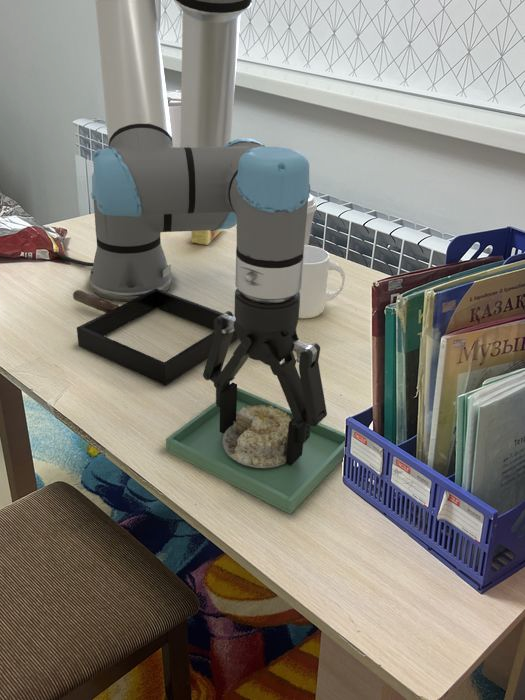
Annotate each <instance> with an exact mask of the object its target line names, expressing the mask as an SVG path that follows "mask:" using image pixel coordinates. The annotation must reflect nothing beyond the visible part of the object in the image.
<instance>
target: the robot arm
mask: <svg viewBox="0 0 525 700" xmlns="http://www.w3.org/2000/svg"><path fill="white" fill-rule="evenodd" d="M94 1H95V11H96V22H97V23H96V24H97V33H98V44H99V55H100V66H101V67H100V69H101V75H102V76H101V78H102V87H103V89H102V90H103V100H104V110H105V113H104V114H105V122H106V133H107V136H106V137H107V147H106V148H98V149H96V150H95V151H93V153H92V162H93V163H92V164H93V173H92V175H91V191H92V192H91V199H92V201H93V212H94V213H93V214H94V225H95V236H96V237H95V239H96V250H95V254H94V259H93V262H87V261H82V260H79V259H75V258H72V257H69V256H67V255H65V254H63V253H60V252H58V251H57V252H55V253H54V252H52V253H53V254H54V255H55V256H57V257H58V258H60V259H61V260H65V261H67V262H70V263H73V264H77V265H80V266H85V267H92V268H91V270H90V274H89V285H90V288H91V291H92V292H94V294H96V295H98V296H100V297H101V298H105V299H108V300H113V301H121V302H129V301H131V300H133V299H135V298H137V297H139V296H141V295H143V294H145V293H147V292H149V291H151V290H153V289H155V288H156V289H159V290H162V291H165V292H167V291H169V289H170V288H171V287H172V283H173V282H172V281H173V280H172V279H173V278H172V276H173V275H172V267H171V266H172V265H171V264H169V265H168V262H167V258H166V255H165V253H164V250H163V248H162V241H161V239H162V238H161V233H175V232H176V233H177V232H191V231H203V230H210V231H217V230H220V229H221V230H230V229H232V228H235V226H236V250H235V282H234V283H235V287H236V289H235V291H234V313H233V312H231V311H229V310H227V311H225V312H223V313H224V314H222V315H220V316H219V317H217V318H216V319H214V330H213V332H214V333H215V334H214V338H213V341H212V344H211V348H210V351H209V355H208V358H207V359H206V361H205V366H204V369H203V371H202V377H203V379H204V380H205V381H211V382H212V383H213V386H214V388H215V402H216V405H217V407H219V408H220V432H221V433H223V434H224V433H225V431H226V430H227V429H228V428H229V427H230V426H232V425H233V424H234V422H233V421H235V422H236V411H237V388H238V384H237V383H235V382H232V381H233V380H235V379H236V376H237V374H238V373H239V372H240V371H241V369H242V368H243V366H244V365H245V363H246V362H247V360H248V359H251V360H254V361H260V362H262V363H263V364H264V365H266V366H269V368H270V371H271V373H272V375H274V376H276V377H277V380H278V382H279V385H280V388H281V389H282V392H283V396H284V397H285V399H286V402H287V405H288V407H289V410H291V412H292V414H293V417H294V418H293V419H292V420H291V421H290V422H289V428H288V442H287V455H286V464H288V465H290V466H291V465H292V464H293V463H294V462H295V461H296V460H297V459H298V458H299V457H300V456H301V455H302V451H303V444H304V443H305V442H306V441H307V440H308V438H309V437H310V428H311V426H316V425H317V424H318V423H321V422H322V421H323V420H324V419H325V418H326V417H327V415H328V411H327V404H326V399H325V393H324V388H323V381H322V376H321V369H320V364H319V359H320V354H321V346H320V344H318V343H317V342H313V343H312V344H310V345H309V344H308V343H305V342H303V341H301V340H300V338H299V336H298V332H297V326H298V322H299V319H300V318H299V307H300V293H299V291H300V289H301V283H302V269H303V252H304V242H305V230H306V218H307V207H308V198H309V193H310V194H311V184H310V162H309V159H308V158H307V156H305V154H303V153H301V152H299V151H294V149H291V148H286V147H280V146H266V145H265V144H263V143H261V142H260V141H258V140H256V139H253V138H247V137H243V138H242V137H240V138H236V139H233V140H232V128H233V115H234V103H235V102H234V101H235V89H236V75H237V61H238V49H239V36H240V35H239V34H240V25H241V23H240V22H241V15H242V14H243V13H245V12H246V11H248V9H250V8H251V7H252V2H253V1H252V0H173V1H174V2H175V4H177V6H178V7H179V8H180V9H181V11H182V29H181V31H182V33H181V36H182V37H181V86H180V88H181V90H180V91H181V93H180V94H181V95H180V138H179V139H180V142H179V145H180V147H174V144H173V134H172V126H171V125H172V124H171V118H170V110H169V101H168V94H167V86H166V77H165V69H164V61H163V55H162V46H161V37H160V29H159V21H158V15H157V6H156V0H94ZM234 330H235V332H236V334H237V336H238V340H239V342H240V343H239V344H238V346H236V348H235V350H234V351H233V353H232V355H231V358H230V359H229V360H228V362H227V363H226V364H225V360H226V357H227V354H228V351H229V348H230V346H231V345H230V344H231V343H230V342H231V339H232V335H233V331H234ZM294 353H295V354H294ZM295 355H296V356H295ZM281 362H282V363H281ZM297 363H298V369H297V366H296V365H297ZM224 364H225V366H224Z"/></svg>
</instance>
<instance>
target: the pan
mask: <svg viewBox="0 0 525 700" xmlns="http://www.w3.org/2000/svg"><path fill="white" fill-rule="evenodd" d="M72 298H73V300H74V301H76V302H78V303H81V304H83V305H85V306H88V307H90V308H92V309H95V310H97V311H100V312H102V313H103V314H100V315H99V316H97V317H95V318H93V319H91V320H89V321H87V322H85V323H83V324H81V325H78V326H77V327H76V335H77V344H78V347H79V348H81V349H83V350H85V351H87V352H89V353H92V354H94V355H96V356H98V357H101V358H102V359H103V358H104V359H105V360H107V361H110V362H112V363H114V364H117V365H119V366H121V367H123V368H125V369H128V370H130V371H132V372H134V373H136V374H137V375H140V376H143V377H145V378H147V379H149V380H151V381H154V382H156V383H158V384H160V385H162V386H168V385H169V384H171V383H172V382H173V381H175V380H177V379H178V378H180V377H181V376H183V375H184V374H186V373H187V372H189V371H190V370H192V369H194V368H195V367H197V366H198V365H200V364H201V363H202V362H204V361H205V360H206V361H207V358H208V355H209V351H210V348H211V344H212V341H213V338H214V334H215V333H214V319H216V318H217V317H219V316H220V315H222V314H224V313H225V312H221V311H219V310H216V309H214V308H210V307H208V306H205V305H202V304H200V303H197V302H194V301H192V300H189V299H187V298H183V297H181V296H178V295H176V294H172V293H170V292H167V291H166V292H165V291H162V290H159V289H156V288H155V289H153V290H151V291H149V292H147V293H145V294H143V295H141V296H139V297H137V298H135V299H133V300H131V301H126V302H125V303H123V304H121V305H118V304H116V303H113V302H111V301H108V300H107V299H104V298H102V297H98V296H96V295H93V294H91V293H89V292H86V291H83V290H81V289H77V290H74V291H73V293H72ZM157 309H158V310H160V311H163V312H165V313H168V314H170V315H173V316H175V317H178V318H181V319H184V320H186V321H189V322H191V323H193V324H196V325H199V326H201V327H204V328H207V329H209V330H213V332H211V333H210V334H208V335H206V336H204V337H203V338H201V339H199V340H198V341H196V342H195V343H193V344H192V345H190V346H188V347H187V348H185V349H183V350H182V351H180V352H178V353H177V354H175V355H174V356H172V357H170V358H169V359H168V360H165V361H163V360H160V359H158V358H156V357H153V356H151V355H148V354H146V353H144V352H142V351H139V350H137V349H135V348H133V347H130V346H128V345H126V344H123V343H121V342H118V341H116V340H115V339H112V338H109V337H107V336H106V335H108V334H111V333H113V332H114V331H116V330H118V329H120V328H122V327H124V326H126V325H127V324H129V323H132V322H133V321H135V320H137V319H139V318H141V317H143V316H145V315H147V314H149V313H151V312H152V311H154V310H157ZM236 340H239V338H238V336H237V334H236V332H235V330H234V331H233V335H232V339H231V342H230V344H231V343H233V342H235V341H236Z"/></svg>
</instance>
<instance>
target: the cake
mask: <svg viewBox="0 0 525 700" xmlns="http://www.w3.org/2000/svg"><path fill="white" fill-rule="evenodd" d="M291 419H292V418H291V417H290V416H289V415H287V412H285V413H284V411H281V409H279V408H278V409H276V408H275V409H274V408H273V407H272V406H268V407H266V406H265V405H257V406H256V405H254V406H247V407H246V408H242V409H240V411H238V412H237V411H236V422H235V421H233V422H234V424H233V425H232V426H230V427H229V428H228V429H227V430H226V431H225V433H224V434H223V438H222V440H223V441H222V444H223V448H224V449H225V452H226V453H227V454H228V455H229V456H230V457H231V458H232V459H234V460H236V461H237V462H238V463H242V464H243V465H247V466H250V467H255V468H273V467H277V466H280V465H283V464H285V463H286V455H287V442H288V428H289V422H290V421H291Z"/></svg>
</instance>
